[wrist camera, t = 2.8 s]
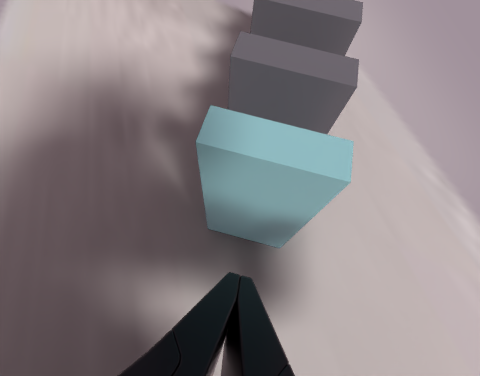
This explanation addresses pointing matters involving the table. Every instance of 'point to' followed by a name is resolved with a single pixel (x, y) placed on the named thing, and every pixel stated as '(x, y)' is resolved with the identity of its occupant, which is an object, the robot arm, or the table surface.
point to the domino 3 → (267, 175)
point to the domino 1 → (309, 22)
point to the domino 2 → (289, 82)
